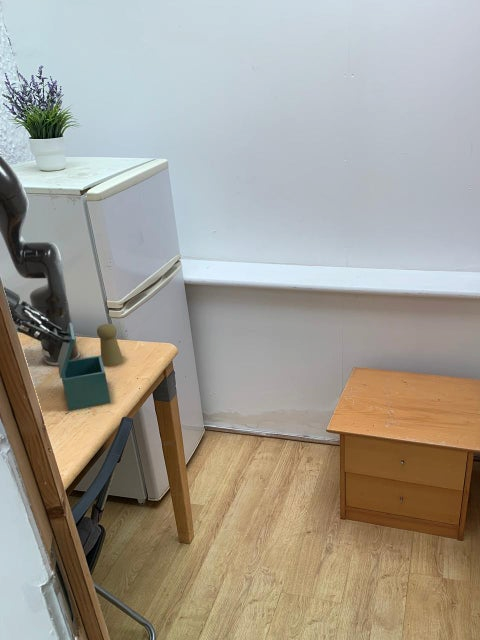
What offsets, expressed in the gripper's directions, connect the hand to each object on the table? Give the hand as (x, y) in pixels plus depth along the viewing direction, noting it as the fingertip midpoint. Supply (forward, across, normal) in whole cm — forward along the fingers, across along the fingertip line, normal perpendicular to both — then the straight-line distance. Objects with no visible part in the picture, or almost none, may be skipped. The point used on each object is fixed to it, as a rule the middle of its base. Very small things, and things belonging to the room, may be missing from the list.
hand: (60, 337), depth 145 cm
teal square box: (+14, 0, +10) cm, 18 cm away
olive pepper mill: (+20, +18, +5) cm, 28 cm away
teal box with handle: (+3, 0, +2) cm, 4 cm away
